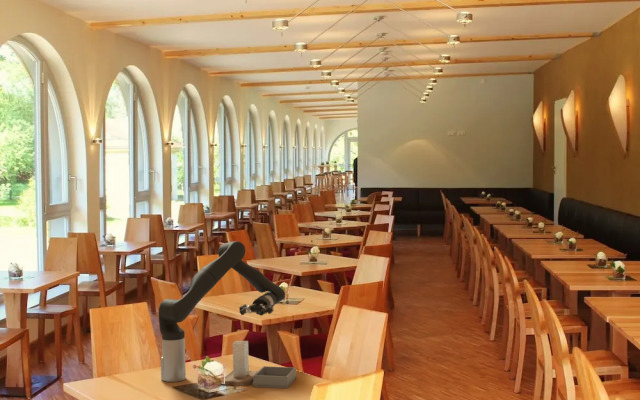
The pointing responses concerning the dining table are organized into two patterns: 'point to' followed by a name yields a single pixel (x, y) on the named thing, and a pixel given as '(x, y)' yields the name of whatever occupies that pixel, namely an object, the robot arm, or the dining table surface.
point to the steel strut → (240, 359)
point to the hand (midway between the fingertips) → (251, 313)
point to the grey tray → (274, 377)
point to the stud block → (240, 379)
